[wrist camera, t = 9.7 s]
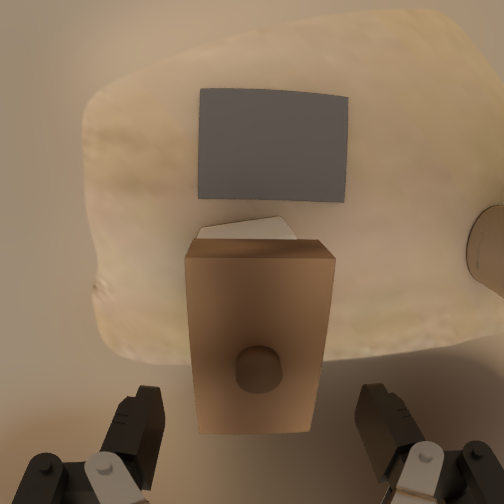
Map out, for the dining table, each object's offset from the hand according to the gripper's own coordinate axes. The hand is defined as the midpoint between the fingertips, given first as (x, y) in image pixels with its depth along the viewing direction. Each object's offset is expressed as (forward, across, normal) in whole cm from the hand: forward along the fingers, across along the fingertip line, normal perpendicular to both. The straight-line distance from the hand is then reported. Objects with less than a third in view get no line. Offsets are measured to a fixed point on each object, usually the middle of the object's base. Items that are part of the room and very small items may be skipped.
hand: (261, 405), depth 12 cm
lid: (+6, 0, 0) cm, 6 cm away
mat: (+18, -2, -10) cm, 20 cm away
